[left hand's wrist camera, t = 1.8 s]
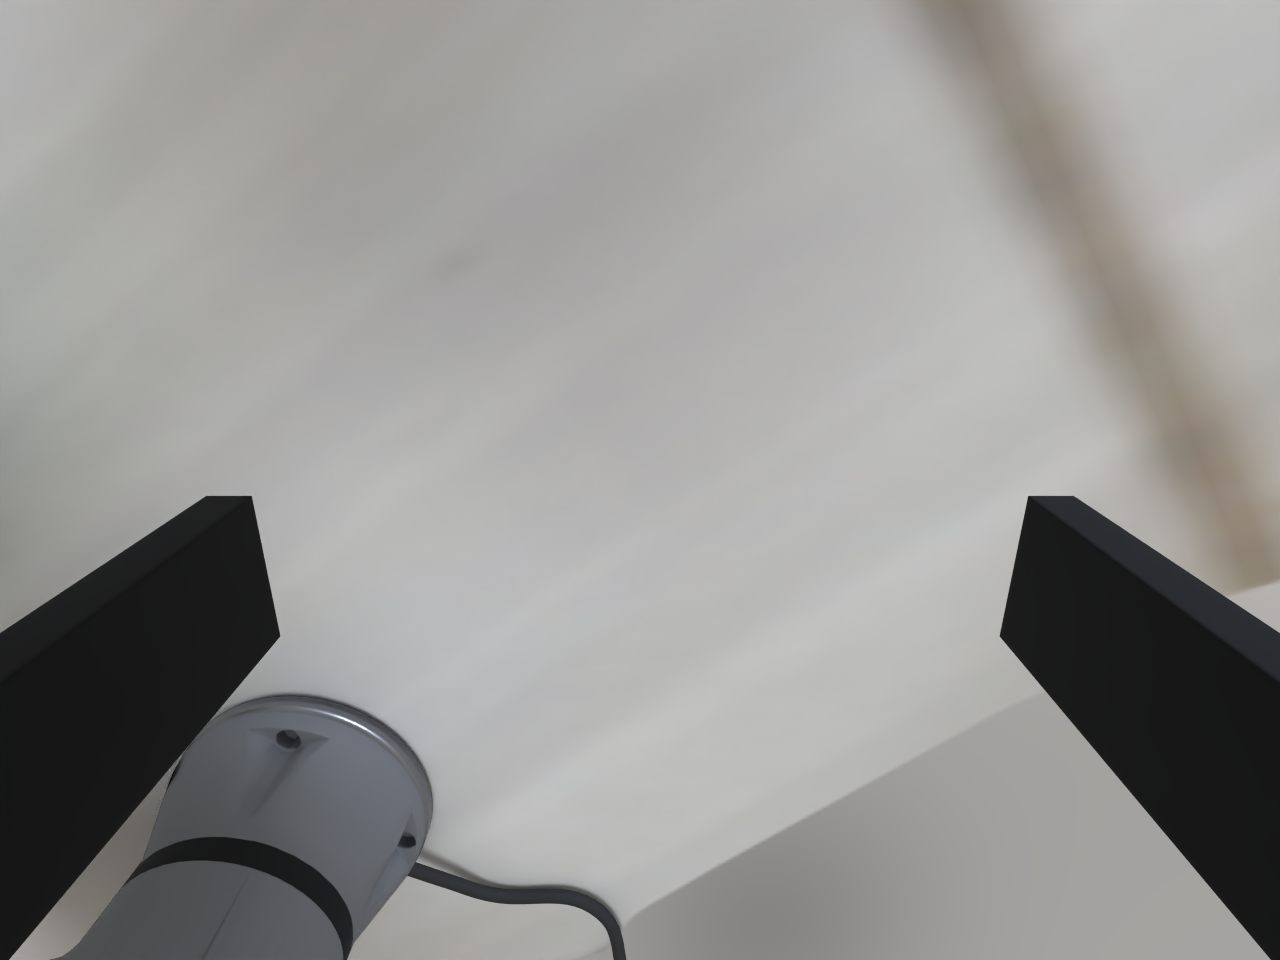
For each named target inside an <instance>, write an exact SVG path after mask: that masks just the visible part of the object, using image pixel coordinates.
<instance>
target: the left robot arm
mask: <svg viewBox="0 0 1280 960" xmlns="http://www.w3.org/2000/svg"><path fill="white" fill-rule="evenodd" d="M279 637H280V632H279V628H278V623H277V618H276V613H275V608H274V603H273V598H272V593H271V588H270V583H269V579H268V574H267V569H266V564H265V559H264V554H263V549H262V544H261V539H260V534H259V530H258V525H257V520H256V515H255V510H254V505H253V500H252V496H206V497H204V498H203V499H201V500H200V501H198V502H197V503H195V504H194V505H192V506H191V507H189V508H188V509H186V510H185V511H183V512H182V513H180V514H179V515H177V516H176V517H174V518H173V519H171V520H170V521H168V522H167V523H165V524H164V525H162V526H161V527H159V528H158V529H156V530H155V531H153V532H152V533H150V534H149V535H147V536H146V537H144V538H143V539H141V540H140V541H138V542H137V543H135V544H134V545H132V546H131V547H129V548H128V549H126V550H125V551H123V552H121V553H120V554H118V555H117V556H115V557H114V558H112V559H111V560H109V561H108V562H106V563H105V564H103V565H102V566H100V567H99V568H97V569H96V570H94V571H93V572H91V573H90V574H88V575H87V576H85V577H84V578H82V579H81V580H79V581H78V582H76V583H75V584H73V585H72V586H70V587H69V588H67V589H66V590H64V591H63V592H61V593H60V594H58V595H57V596H55V597H54V598H52V599H51V600H49V601H48V602H46V603H45V604H43V605H42V606H40V607H39V608H37V609H36V610H34V611H33V612H31V613H30V614H28V615H27V616H25V617H24V618H22V619H21V620H19V621H18V622H16V623H15V624H13V625H12V626H10V627H9V628H7V629H6V630H4V631H3V632H1V633H0V960H9V959H10V958H11V957H12V956H13V954H14V953H15V952H16V951H17V950H18V948H19V947H20V946H21V945H22V944H23V942H24V941H25V940H26V939H27V938H28V936H29V935H30V934H31V933H32V932H33V930H34V929H35V928H36V927H37V926H38V925H39V923H40V922H41V921H42V920H43V919H44V917H45V916H46V915H47V914H48V913H49V911H50V910H51V909H52V908H53V907H54V905H55V904H56V903H57V902H58V901H59V899H60V898H61V897H62V896H63V895H64V894H65V892H66V891H67V890H68V889H69V888H70V886H71V885H72V884H73V883H74V882H75V880H76V879H77V878H78V877H79V876H80V874H81V873H82V872H83V871H84V870H85V868H86V867H87V866H88V865H89V864H90V863H91V861H92V860H93V859H94V858H95V857H96V855H97V854H98V853H99V852H100V851H101V849H102V848H103V847H104V846H105V845H106V843H107V842H108V841H109V840H110V839H111V837H112V836H113V835H114V834H115V833H116V832H117V830H118V829H119V828H120V827H121V826H122V824H123V823H124V822H125V821H126V820H127V818H128V817H129V816H130V815H131V814H132V812H133V811H134V810H135V809H136V808H137V806H138V805H139V804H140V803H141V802H142V801H143V799H144V798H145V797H146V796H147V795H148V793H149V792H150V791H151V790H152V789H153V787H154V786H155V785H156V784H157V783H158V781H159V780H160V779H161V778H162V777H163V775H164V774H165V773H166V772H167V771H168V770H169V768H170V767H171V766H172V765H173V764H174V762H175V761H176V760H177V759H178V758H179V756H180V755H181V754H182V753H183V752H184V750H185V749H186V748H187V747H188V746H189V744H190V743H191V742H192V741H193V740H194V739H195V737H196V736H197V735H198V734H199V733H200V731H201V730H202V729H203V728H204V727H205V725H206V724H207V723H208V722H209V721H210V719H211V718H212V717H213V716H214V715H215V713H216V712H217V711H218V710H219V709H220V708H221V706H222V705H223V704H224V703H225V702H226V700H227V699H228V698H229V697H230V696H231V694H232V693H233V692H234V691H235V690H236V688H237V687H238V686H239V685H240V684H241V682H242V681H243V680H244V679H245V678H246V677H247V675H248V674H249V673H250V672H251V671H252V669H253V668H254V667H255V666H256V665H257V663H258V662H259V661H260V660H261V659H262V657H263V656H264V655H265V654H266V653H267V651H268V650H269V649H270V648H271V647H272V646H273V644H274V643H275V642H276V641H277V640H278V638H279ZM1000 637H1001V638H1002V640H1003V641H1004V642H1005V643H1006V644H1007V646H1008V647H1009V648H1010V649H1011V650H1012V651H1013V653H1014V654H1015V655H1016V656H1017V657H1018V659H1019V660H1020V661H1021V662H1022V663H1023V665H1024V666H1025V667H1026V668H1027V669H1028V671H1029V672H1030V673H1031V674H1032V675H1033V677H1034V678H1035V679H1036V680H1037V681H1038V682H1039V684H1040V685H1041V686H1042V687H1043V688H1044V690H1045V691H1046V692H1047V693H1048V694H1049V696H1050V697H1051V698H1052V699H1053V700H1054V702H1055V703H1056V704H1057V705H1058V706H1059V708H1060V709H1061V710H1062V711H1063V712H1064V713H1065V715H1066V716H1067V717H1068V718H1069V719H1070V721H1071V722H1072V723H1073V724H1074V725H1075V727H1076V728H1077V729H1078V730H1079V731H1080V733H1081V734H1082V735H1083V736H1084V737H1085V738H1086V740H1087V741H1088V742H1089V743H1090V744H1091V746H1092V747H1093V748H1094V749H1095V750H1096V752H1097V753H1098V754H1099V755H1100V756H1101V758H1102V759H1103V760H1104V761H1105V762H1106V764H1107V765H1108V766H1109V767H1110V768H1111V770H1112V771H1113V772H1114V773H1115V774H1116V775H1117V777H1118V778H1119V779H1120V780H1121V781H1122V783H1123V784H1124V785H1125V786H1126V787H1127V789H1128V790H1129V791H1130V792H1131V793H1132V795H1133V796H1134V797H1135V798H1136V799H1137V801H1138V802H1139V803H1140V804H1141V805H1142V806H1143V808H1144V809H1145V810H1146V811H1147V812H1148V814H1149V815H1150V816H1151V817H1152V818H1153V820H1154V821H1155V822H1156V823H1157V824H1158V826H1159V827H1160V828H1161V829H1162V830H1163V832H1164V833H1165V834H1166V835H1167V836H1168V837H1169V839H1170V840H1171V841H1172V842H1173V843H1174V845H1175V846H1176V847H1177V848H1178V849H1179V851H1180V852H1181V853H1182V854H1183V855H1184V857H1185V858H1186V859H1187V860H1188V861H1189V862H1190V864H1191V865H1192V866H1193V867H1194V868H1195V870H1196V871H1197V872H1198V873H1199V874H1200V876H1201V877H1202V878H1203V879H1204V880H1205V882H1206V883H1207V884H1208V885H1209V886H1210V887H1211V889H1212V890H1213V891H1214V892H1215V893H1216V895H1217V896H1218V897H1219V898H1220V899H1221V901H1222V902H1223V903H1224V904H1225V905H1226V907H1227V908H1228V909H1229V910H1230V911H1231V913H1232V914H1233V915H1234V916H1235V917H1236V919H1237V920H1238V921H1239V922H1240V923H1241V925H1242V926H1243V927H1244V928H1245V929H1246V930H1247V932H1248V933H1249V934H1250V935H1251V936H1252V938H1253V939H1254V940H1255V941H1256V942H1257V944H1258V945H1259V946H1260V947H1261V948H1262V950H1263V951H1264V952H1265V953H1266V954H1267V956H1268V957H1269V958H1270V959H1271V960H1280V633H1279V632H1277V631H1276V630H1274V629H1273V628H1271V627H1270V626H1268V625H1267V624H1265V623H1264V622H1262V621H1261V620H1259V619H1258V618H1256V617H1255V616H1253V615H1252V614H1250V613H1249V612H1247V611H1246V610H1244V609H1243V608H1241V607H1240V606H1238V605H1237V604H1235V603H1234V602H1232V601H1231V600H1229V599H1228V598H1226V597H1225V596H1223V595H1222V594H1220V593H1219V592H1217V591H1216V590H1214V589H1213V588H1211V587H1210V586H1208V585H1207V584H1205V583H1204V582H1202V581H1201V580H1199V579H1198V578H1196V577H1195V576H1193V575H1192V574H1190V573H1189V572H1187V571H1186V570H1184V569H1183V568H1181V567H1180V566H1178V565H1177V564H1175V563H1174V562H1172V561H1171V560H1169V559H1168V558H1166V557H1165V556H1163V555H1162V554H1160V553H1158V552H1157V551H1155V550H1154V549H1152V548H1151V547H1149V546H1148V545H1146V544H1145V543H1143V542H1142V541H1140V540H1139V539H1137V538H1136V537H1134V536H1133V535H1131V534H1130V533H1128V532H1127V531H1125V530H1124V529H1122V528H1121V527H1119V526H1118V525H1116V524H1115V523H1113V522H1112V521H1110V520H1109V519H1107V518H1106V517H1104V516H1103V515H1101V514H1100V513H1098V512H1097V511H1095V510H1094V509H1092V508H1091V507H1089V506H1088V505H1086V504H1085V503H1083V502H1082V501H1080V500H1079V499H1077V498H1076V497H1074V496H1028V500H1027V505H1026V510H1025V515H1024V520H1023V525H1022V530H1021V534H1020V539H1019V544H1018V549H1017V554H1016V559H1015V564H1014V569H1013V574H1012V579H1011V583H1010V588H1009V593H1008V598H1007V603H1006V608H1005V613H1004V618H1003V623H1002V628H1001V632H1000Z"/></svg>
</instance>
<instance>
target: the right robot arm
mask: <svg viewBox="0 0 1280 960" xmlns="http://www.w3.org/2000/svg"><path fill="white" fill-rule="evenodd" d="M175 762H176V761H175ZM174 765H175V763H174ZM173 768H174V766H173ZM173 768H172V771H173ZM172 771H171V773H170V776H171V774H172ZM170 776H169V778H168V781H169V779H170ZM168 781H167V783H166V786H167V784H168ZM166 786H165V788H164V791H165V789H166ZM164 791H163V793H162V796H163V794H164ZM162 796H161V799H162ZM161 799H160V801H161ZM160 801H159V804H160ZM159 804H158V806H159ZM157 809H158V807H157ZM156 811H157V810H156ZM155 814H156V813H155ZM431 818H432V796H431V790H430V786H429V783H428V780H427V778H426V775H425V773H424V771H423V769H422V767H421V765H420V763H419V762H418V760H417V759H416V757H415V756H414V754H413V753H412V752H411V751H410V749H409V748H408V747H407V746H406V745H405V744H404V743H403V742H402V741H401V740H400V739H399V738H398V737H397V736H396V735H395V734H393V733H392V732H391V731H390V730H389V729H387V728H386V727H384V726H383V725H382V724H380V723H379V722H377V721H375V720H374V719H372V718H370V717H369V716H367V715H365V714H363V713H361V712H359V711H356V710H354V709H351V708H349V707H346V706H344V705H341V704H337V703H334V702H330V701H326V700H322V699H316V698H310V697H299V696H279V697H268V698H263V699H257V700H254V701H250V702H246V703H244V704H241V705H238V706H236V707H234V708H232V709H230V710H228V711H226V712H224V713H223V714H221V715H219V716H218V717H216V718H215V719H214V720H213V721H212V722H210V723H209V724H208V725H207V726H206V727H205V728H204V729H203V730H202V731H201V733H200V734H199V735H198V736H197V737H196V739H195V740H194V741H193V742H192V743H191V745H190V746H189V747H188V748H187V750H186V751H185V753H184V754H183V756H182V758H181V759H180V761H179V763H178V765H177V766H176V768H175V770H174V772H173V774H172V776H171V779H170V781H169V784H168V787H167V790H166V793H165V796H164V799H163V802H162V804H161V807H160V810H159V813H158V816H157V819H156V822H155V825H154V828H153V831H152V834H151V837H150V840H149V843H148V845H147V848H146V851H145V854H144V857H143V860H142V861H141V863H140V864H139V865H138V867H137V868H136V870H135V871H134V872H133V873H132V875H131V876H130V877H129V879H128V880H127V881H126V883H125V884H124V885H123V887H122V888H121V889H120V890H119V892H118V893H117V894H116V895H115V897H114V898H113V899H112V901H111V902H110V903H109V905H108V906H107V907H106V909H105V910H104V911H103V912H102V914H101V915H100V916H99V918H98V919H97V920H96V922H95V923H94V924H93V926H92V927H91V928H90V929H89V931H88V932H87V933H86V935H85V936H84V937H83V939H82V940H81V941H80V943H79V944H78V945H76V946H75V947H74V948H73V949H72V950H71V951H69V952H68V953H66V954H65V955H63V956H62V957H59V958H55V959H51V960H347V958H348V956H349V953H350V951H351V948H352V946H353V943H354V942H355V941H356V939H357V938H358V937H359V936H360V934H361V933H362V932H363V931H364V929H365V928H366V927H367V926H368V924H369V923H370V922H371V921H372V919H373V918H374V917H375V916H376V914H377V913H378V912H379V911H380V909H381V908H382V907H383V906H384V904H385V903H386V902H387V900H388V899H389V898H390V897H391V895H392V894H393V893H394V892H395V890H396V889H397V888H398V887H399V885H400V884H401V883H402V882H403V880H404V879H405V878H406V876H410V877H413V878H416V879H419V880H422V881H425V882H428V883H431V884H434V885H437V886H440V887H443V888H446V889H450V890H452V891H455V892H458V893H461V894H464V895H467V896H470V897H473V898H476V899H480V900H484V901H489V902H495V903H503V904H543V903H554V904H565V905H571V906H575V907H578V908H580V909H583V910H585V911H587V912H588V913H590V914H591V915H593V916H594V917H596V918H597V919H598V920H599V921H600V922H601V923H602V924H603V925H604V927H605V928H606V930H607V932H608V935H609V937H610V941H611V946H612V951H613V957H614V960H626V955H625V949H624V943H623V938H622V934H621V931H620V928H619V926H618V924H617V922H616V920H615V919H614V917H613V916H612V915H611V913H610V912H609V911H608V910H607V909H606V908H605V907H604V906H603V905H601V904H600V903H599V902H597V901H596V900H594V899H592V898H591V897H589V896H587V895H584V894H581V893H579V892H574V891H570V890H562V889H530V890H510V889H500V888H494V887H489V886H485V885H481V884H478V883H475V882H472V881H469V880H466V879H464V878H461V877H458V876H455V875H452V874H449V873H446V872H443V871H440V870H437V869H434V868H431V867H428V866H425V865H422V864H419V863H417V862H416V860H417V858H418V856H419V854H420V852H421V850H422V847H423V845H424V842H425V839H426V836H427V833H428V830H429V827H430V823H431Z"/></svg>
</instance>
